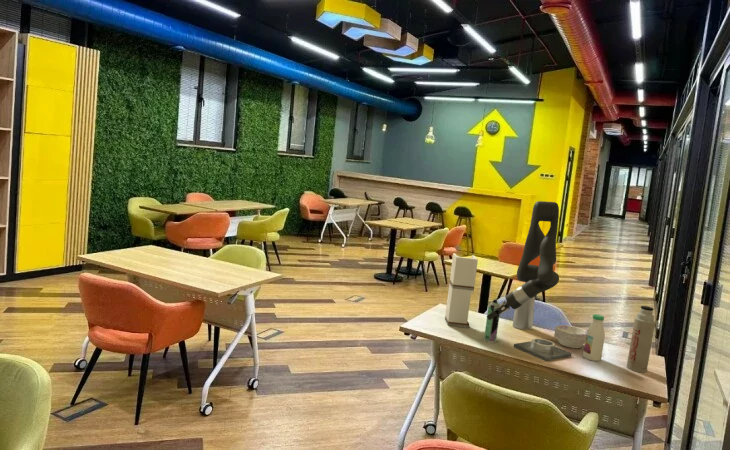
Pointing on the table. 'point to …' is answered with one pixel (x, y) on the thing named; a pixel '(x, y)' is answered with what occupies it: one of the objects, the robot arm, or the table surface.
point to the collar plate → (542, 354)
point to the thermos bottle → (641, 340)
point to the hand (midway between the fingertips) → (490, 316)
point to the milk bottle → (594, 339)
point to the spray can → (492, 323)
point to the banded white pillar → (460, 290)
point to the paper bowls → (570, 336)
